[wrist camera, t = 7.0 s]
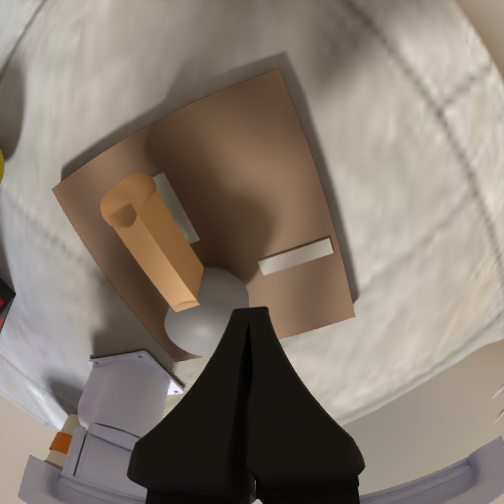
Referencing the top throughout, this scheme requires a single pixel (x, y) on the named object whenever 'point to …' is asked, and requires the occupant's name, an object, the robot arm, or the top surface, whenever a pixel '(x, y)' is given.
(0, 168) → the lemon
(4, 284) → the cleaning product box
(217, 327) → the orange and grey bar
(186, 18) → the top surface
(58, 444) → the reusable coffee cup
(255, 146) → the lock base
